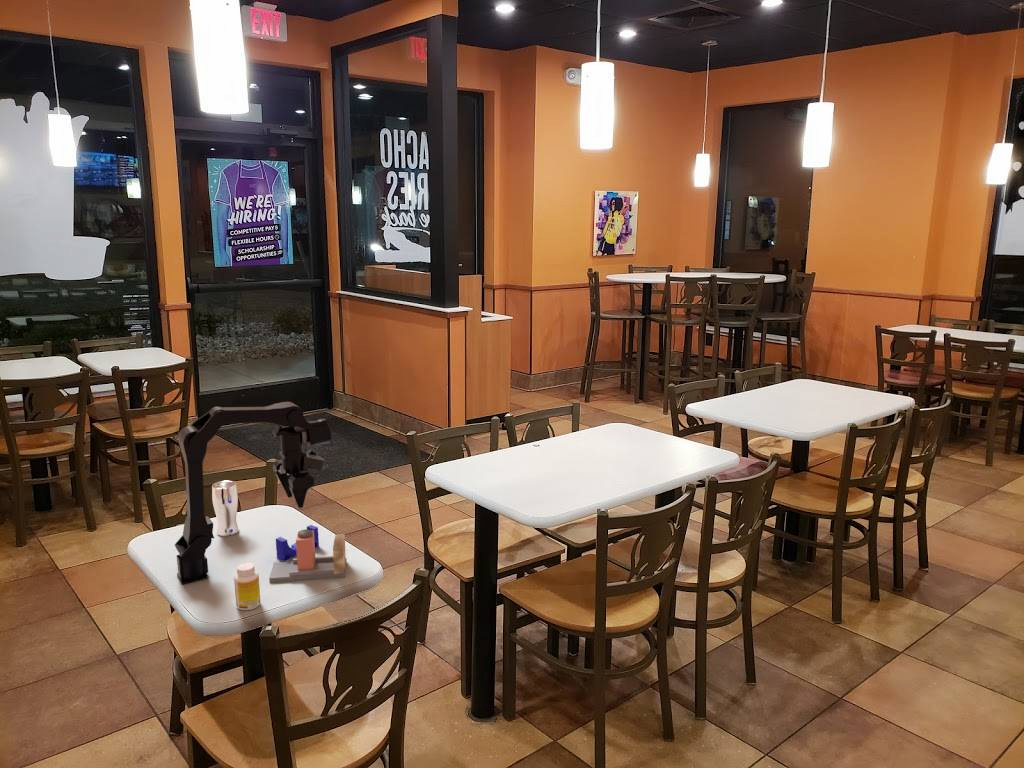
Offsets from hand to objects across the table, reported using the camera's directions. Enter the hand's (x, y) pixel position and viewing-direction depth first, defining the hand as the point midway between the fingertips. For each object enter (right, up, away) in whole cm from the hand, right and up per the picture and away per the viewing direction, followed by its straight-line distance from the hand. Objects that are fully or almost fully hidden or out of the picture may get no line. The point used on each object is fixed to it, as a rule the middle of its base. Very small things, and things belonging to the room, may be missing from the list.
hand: (295, 502), depth 211 cm
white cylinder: (-24, -11, +16) cm, 31 cm away
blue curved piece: (0, -15, +3) cm, 15 cm away
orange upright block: (+6, -16, -9) cm, 19 cm away
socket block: (+14, -16, -8) cm, 23 cm away
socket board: (+6, -17, -9) cm, 20 cm away
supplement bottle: (-4, -21, -26) cm, 34 cm away
